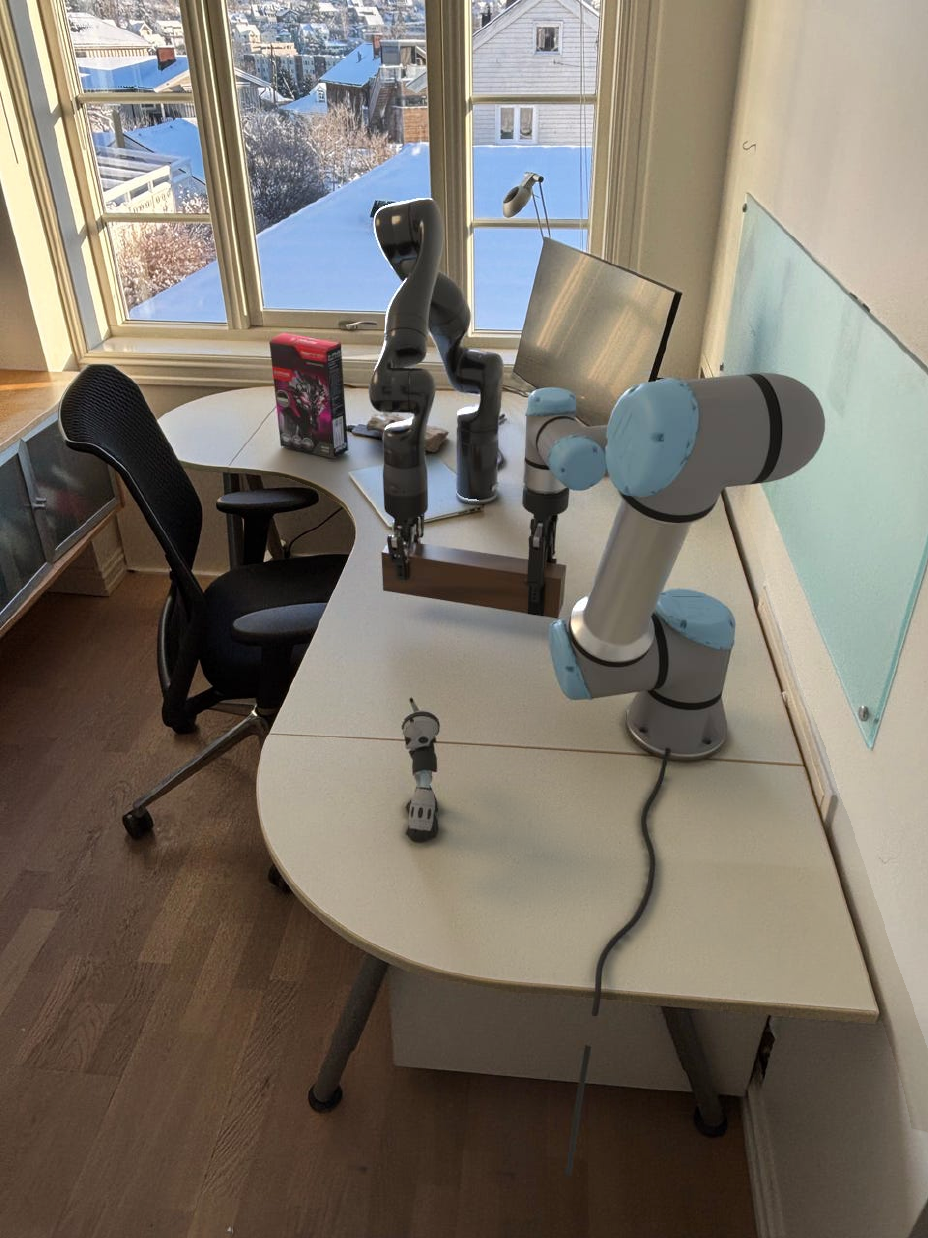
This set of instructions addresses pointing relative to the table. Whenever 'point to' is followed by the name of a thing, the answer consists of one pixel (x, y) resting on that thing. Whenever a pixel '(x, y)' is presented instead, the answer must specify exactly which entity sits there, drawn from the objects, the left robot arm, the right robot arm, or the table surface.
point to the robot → (422, 772)
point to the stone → (383, 420)
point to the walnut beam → (473, 578)
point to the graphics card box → (309, 394)
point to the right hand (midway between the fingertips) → (538, 605)
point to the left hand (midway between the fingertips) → (408, 570)
